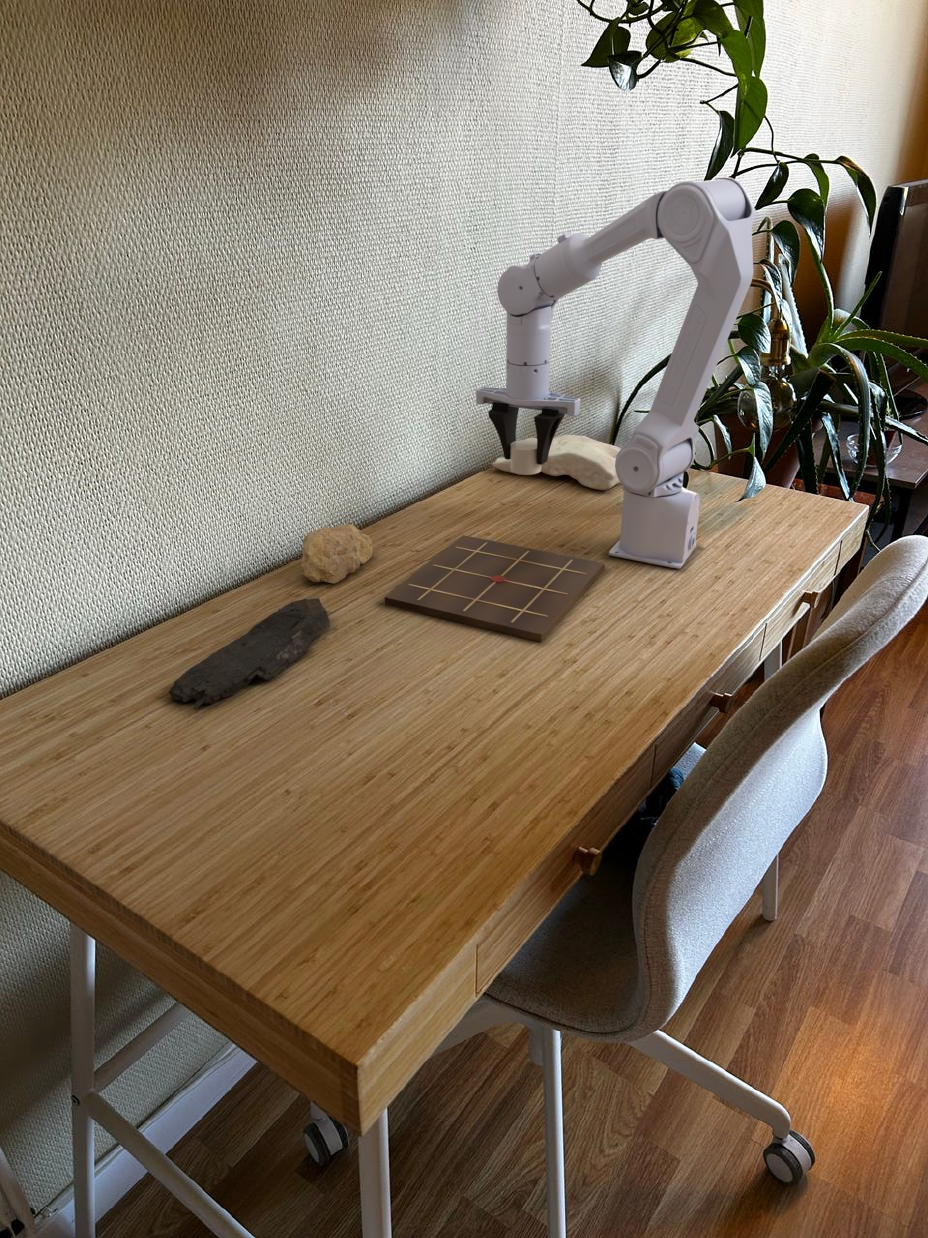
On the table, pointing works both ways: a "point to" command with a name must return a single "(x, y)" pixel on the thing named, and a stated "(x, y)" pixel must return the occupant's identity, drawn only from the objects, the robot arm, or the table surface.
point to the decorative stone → (578, 461)
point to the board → (497, 587)
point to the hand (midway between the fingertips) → (526, 459)
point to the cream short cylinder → (524, 457)
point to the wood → (254, 654)
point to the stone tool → (334, 553)
